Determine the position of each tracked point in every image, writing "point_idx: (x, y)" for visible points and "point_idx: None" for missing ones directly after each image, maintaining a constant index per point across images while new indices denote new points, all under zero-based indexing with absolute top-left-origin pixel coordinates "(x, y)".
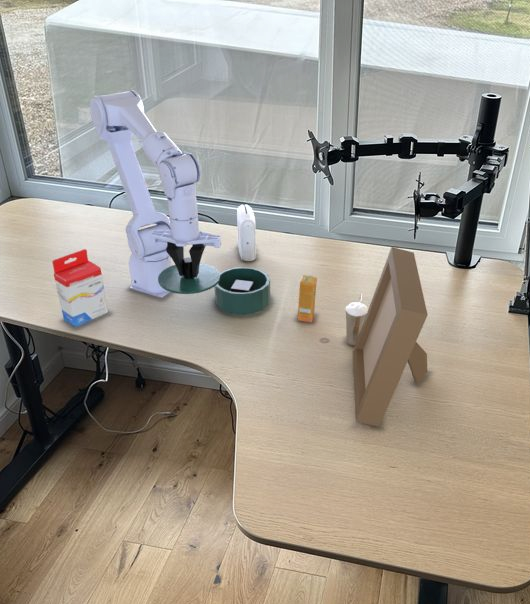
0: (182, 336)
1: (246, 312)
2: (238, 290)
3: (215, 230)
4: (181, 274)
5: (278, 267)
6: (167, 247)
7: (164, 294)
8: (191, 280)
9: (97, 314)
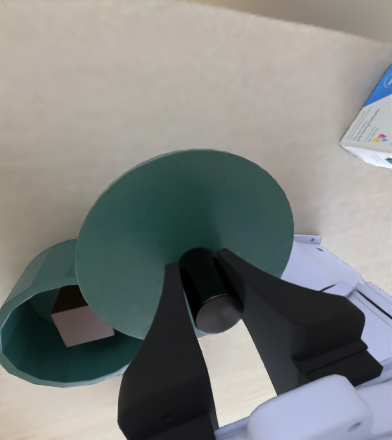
0: (151, 110)
1: (43, 255)
2: (81, 304)
3: (242, 409)
4: (221, 252)
5: (97, 398)
6: (359, 331)
7: None
8: (177, 246)
9: (363, 119)
